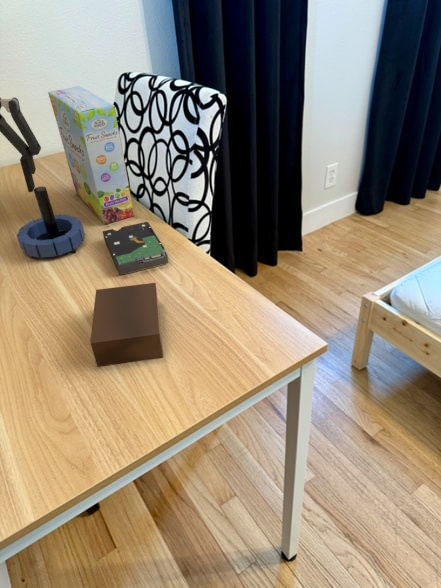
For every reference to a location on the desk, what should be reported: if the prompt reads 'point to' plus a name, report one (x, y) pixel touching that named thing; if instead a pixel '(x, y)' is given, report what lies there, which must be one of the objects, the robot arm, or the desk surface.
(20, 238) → the ring
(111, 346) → the stand
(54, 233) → the post
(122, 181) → the snack box
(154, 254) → the disk drive
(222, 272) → the desk surface
